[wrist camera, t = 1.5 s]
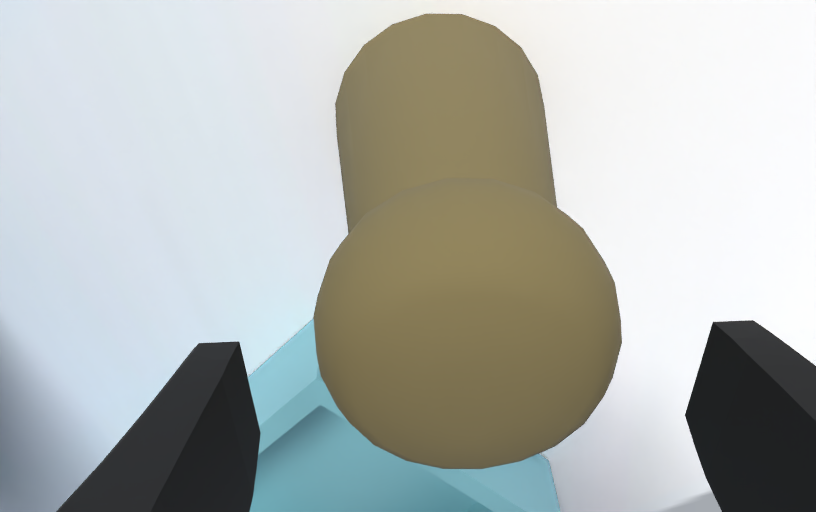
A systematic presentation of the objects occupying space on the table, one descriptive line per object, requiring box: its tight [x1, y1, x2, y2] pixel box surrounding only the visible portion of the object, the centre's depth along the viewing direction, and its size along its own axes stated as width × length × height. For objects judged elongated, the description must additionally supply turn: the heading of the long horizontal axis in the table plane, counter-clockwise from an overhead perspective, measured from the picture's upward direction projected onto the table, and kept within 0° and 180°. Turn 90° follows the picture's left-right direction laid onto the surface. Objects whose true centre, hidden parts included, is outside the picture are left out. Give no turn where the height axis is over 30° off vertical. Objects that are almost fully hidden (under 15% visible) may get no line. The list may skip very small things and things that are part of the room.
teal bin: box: [248, 319, 560, 512], centre depth 26 cm, size 12×12×4 cm
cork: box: [313, 14, 622, 469], centre depth 15 cm, size 6×6×11 cm
